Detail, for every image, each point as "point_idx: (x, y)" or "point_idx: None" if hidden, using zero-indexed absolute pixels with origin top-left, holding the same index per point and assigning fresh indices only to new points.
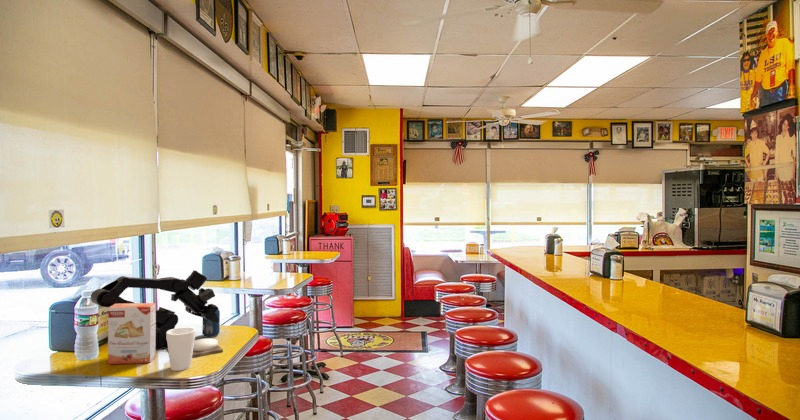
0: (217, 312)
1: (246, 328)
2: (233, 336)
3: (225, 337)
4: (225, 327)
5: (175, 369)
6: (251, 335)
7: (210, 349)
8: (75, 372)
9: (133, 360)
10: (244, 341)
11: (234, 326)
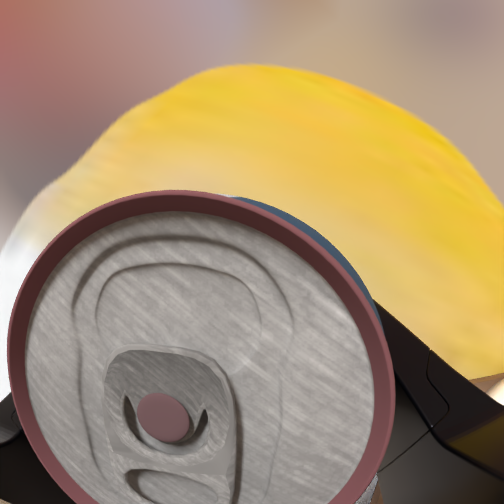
0: (370, 300)
1: (241, 73)
2: (382, 204)
3: (373, 261)
4: (117, 163)
5: None
6: (414, 118)
7: None
8: None
9: None
10: (496, 206)
11: (141, 113)
